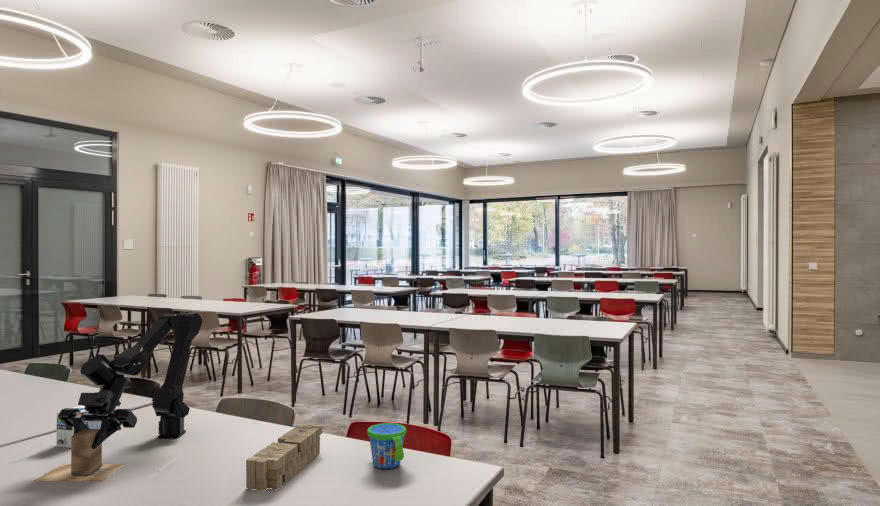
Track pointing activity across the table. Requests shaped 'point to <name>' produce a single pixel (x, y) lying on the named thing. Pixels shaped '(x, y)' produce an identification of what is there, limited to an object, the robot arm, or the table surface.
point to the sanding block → (85, 453)
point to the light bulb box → (71, 429)
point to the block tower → (283, 457)
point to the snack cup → (386, 444)
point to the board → (65, 475)
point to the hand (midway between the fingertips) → (83, 448)
